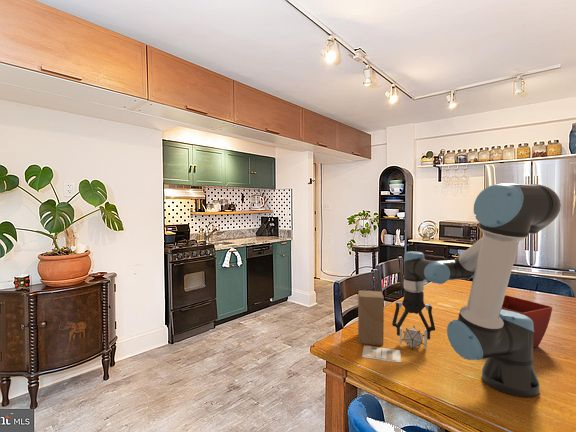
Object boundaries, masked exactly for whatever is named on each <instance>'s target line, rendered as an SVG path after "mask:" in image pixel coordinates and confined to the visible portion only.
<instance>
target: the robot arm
mask: <svg viewBox="0 0 576 432" xmlns="http://www.w3.org/2000/svg"><path fill="white" fill-rule="evenodd" d="M561 206H562V205H561V200H560V197H559V195H558V194H557V193H556V191H554V190H553V189H552V188H550V187H548V186H546V185H542V184H535V183H532V184H531V183H530V184H527V183H507V182H505V183H499V184H498V183H496V184H492V185H489V186H487V187H486V188H484V189H483V190H481V191H480V192H479V194H477V197H476V198H475V200H474V203H473V214H474V215H475V219H476V221H477V222H478V223H479V225H478V228H479V230H480V231H481V232H482V234H483V235H482V237H481V238H479V239H478V240H477V241H475V242H474V243H473V244H472V245H470V247H469V248H467V249H465V251H463V252H462V253H461V254H459V255H458V256H457V257H456V258H454V259H444V260H441V259H440V260H429V259H425V253H423V252H421V251H413V250H412V251H406V252H405V253H404V256H403V257H404V258H403V289H404V290H403V300H402V301H398V300H397V301H395V311H394V314H393V318H392V323H391V324H392V327H395V328H396V335H397V336H398V337H399V345H400V346H402V342H403V341H402V339H403V337H402V335H403V327H402V326H403V324H404V321H405V320H406V318H407V317H408V314H415V315H417V314H418V315H419V317H420V320H421V321H422V323H423V325H424V327H425V329H424V333H423V335H424V336H423V338H424V339H423V340H424V342H423V343H424V345H423V346H424V348H425V349H428V340H431V332H433V331H434V332H435V331H436V326H435V322H434V321H435V320H434V316H433V314H432V311H433V306H432V304H427V303H425V300H424V298H425V295H424V294H425V293H424V290H425V289H424V288H425V280H426V281H428V282H430V283H432V284H437V285H443V284H445V283H446V282H448V281H457V280H469V279H472V281H471V286H470V291H469V295H468V298H467V299H468V300H467V304H466V305H465V306H462V307H461V308H460V309H459V313H458V318H457V319H453V320H451V321H449V323H448V324H447V328H446V335H447V339H448V341H449V343H450V346H451V348H452V349H453V351H454V352H455V353H456V354H457V355H458V356H460V357H461V358H463V359H465V360H467V361H468V360H469V361H474V360H475V361H480V360H483V359H486V360H485V362H484V364H483V367H482V369H481V377H482V378H481V379H482V380H483V381H484V382H485V383H486V385H488V386H490V387H491V388H493V389H495V390H497V391H499V392H501V393H504V394H508V395H511V396H515V397H522V398H533V397H537V396H538V395H539V394H540V389H541V388H540V382H539V379H538V376H537V373H536V371H535V368H534V347H533V336H534V328H533V321H532V320H531V319H530V318H529V317H527V316H525V315H523V314H520V313H516V312H512V311H508V310H503V309H501V308H502V305H503V301H504V297H505V295H506V293H507V289H508V285H509V281H510V277H511V275H512V274H511V273H512V270H513V267H514V262H515V258H516V255H517V251H518V248H519V243H520V242H521V241H522V240H524V239H527V238H528V237H529V235H536V234H538V233H539V232H540V231H542V230H543V229H545V228H546V227H548V226H549V225H550V224H551V223H552V222H554V220H555V219H556V218H557V217H558V216H559V214H560V211H561ZM402 307H404V311H403V313H402V315H401V316H400V318H399V320H398V317H399V312H400V309H401V308H402ZM424 308H425V310H426V311H427V314H428V318H429V323H430V326H429V324H428V322H427V319H426V318H425V316H424V314H423V310H424ZM397 320H398V322H397Z"/></svg>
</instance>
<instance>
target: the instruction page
mask: <svg viewBox="0 0 576 432" xmlns="http://www.w3.org/2000/svg"><path fill="white" fill-rule="evenodd" d="M361 357H362V358H364V359H365V358H366V359H371V360H378V361H386V362H391V363H397V364H398V363H399V364H401V363H402V356H401V350H399V349H392V348H384V347H380V346H379V347H376V346H369V345H363V349H362V355H361Z"/></svg>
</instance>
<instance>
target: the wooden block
mask: <svg viewBox="0 0 576 432" xmlns="http://www.w3.org/2000/svg"><path fill="white" fill-rule="evenodd" d="M357 293H358V296H357V297H358V301H357V303H358V310H357V312H358V313H357V314H358V315H357V317H358V318H357V321H358V323H357V330H358V331H357V333H358V334H357V336H358V343H359V344H361V345H375V346H384V337H385V335H384V326H385V325H384V321H385V318H384V317H385V316H384V314H385V313H384V312H385V305H384V304H385V302H384V300H385V299H384V298H385V297H384V295H383V292H382V291H376V290H358V292H357Z"/></svg>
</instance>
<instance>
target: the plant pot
mask: <svg viewBox="0 0 576 432" xmlns="http://www.w3.org/2000/svg"><path fill="white" fill-rule="evenodd" d="M501 309H503V310H508V311H512V312H516V313H520V314H523V315H525V316H527V317H529V318H530V319H531V320H532V321H533V328H534V336H533V348H536V347H539V346H540V344H541V342H542V341H543V338H544V336H545V334H546V332H547V329H548V326H549V324H550V320H551V317H552V312H553V307H552V306H551V305H546V304H542V303H539V302H535V301H530V300H526V299H524V298H520V297H515V296H512V295H506V294H505V297H504V301H503V305H502V308H501Z"/></svg>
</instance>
